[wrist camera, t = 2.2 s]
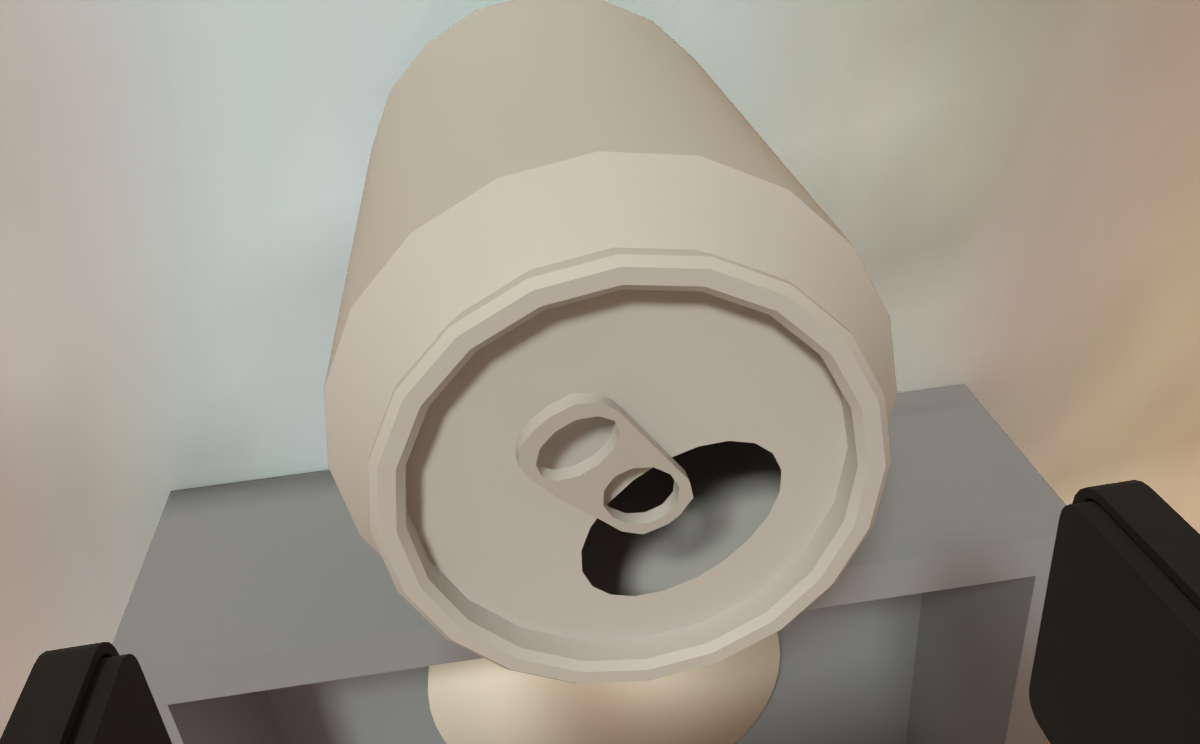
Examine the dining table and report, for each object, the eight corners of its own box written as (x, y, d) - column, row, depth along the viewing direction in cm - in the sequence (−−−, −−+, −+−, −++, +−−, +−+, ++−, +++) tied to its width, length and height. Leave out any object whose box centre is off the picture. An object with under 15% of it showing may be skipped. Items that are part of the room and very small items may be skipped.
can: (537, 379, 25) (600, 809, 15) (297, 157, 21) (158, 515, 11) (787, 177, 23) (1060, 505, 13) (567, -101, 20) (698, 43, 9)
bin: (964, 384, 27) (1089, 532, 21) (919, 750, 34) (1004, 926, 29) (170, 491, 25) (100, 676, 20) (299, 849, 32) (271, 1053, 27)
